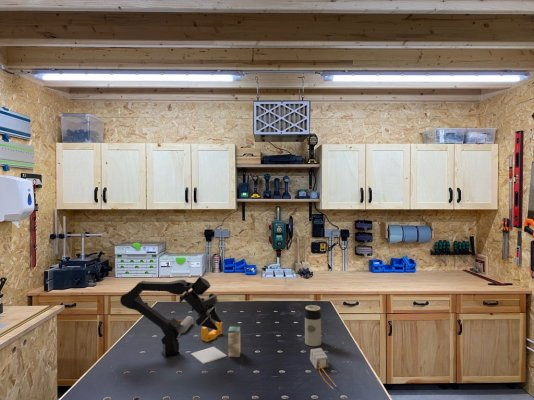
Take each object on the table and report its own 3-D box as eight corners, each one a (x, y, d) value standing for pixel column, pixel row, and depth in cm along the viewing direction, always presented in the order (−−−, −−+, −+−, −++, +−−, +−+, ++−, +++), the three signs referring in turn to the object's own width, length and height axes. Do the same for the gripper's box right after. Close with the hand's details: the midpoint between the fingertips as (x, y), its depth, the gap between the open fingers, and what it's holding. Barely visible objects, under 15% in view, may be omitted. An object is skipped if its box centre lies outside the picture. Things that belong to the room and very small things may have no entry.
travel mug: (309, 338, 177) (309, 304, 177) (323, 342, 173) (323, 306, 173) (302, 344, 171) (301, 308, 171) (316, 348, 166) (316, 311, 166)
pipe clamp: (206, 342, 175) (206, 329, 175) (201, 340, 177) (201, 327, 177) (224, 334, 184) (223, 322, 184) (218, 332, 187) (218, 321, 187)
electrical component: (346, 395, 133) (347, 383, 132) (331, 397, 131) (332, 386, 130) (320, 356, 155) (320, 346, 154) (307, 358, 154) (308, 347, 153)
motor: (196, 321, 203) (194, 313, 203) (183, 336, 181) (182, 327, 181) (158, 327, 205) (156, 318, 205) (141, 343, 183) (140, 333, 183)
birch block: (228, 356, 158) (228, 330, 158) (229, 351, 163) (229, 326, 163) (239, 356, 158) (239, 330, 158) (240, 352, 163) (240, 326, 163)
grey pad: (203, 364, 151) (203, 363, 151) (190, 354, 160) (190, 353, 160) (226, 356, 158) (226, 355, 158) (213, 347, 168) (213, 346, 168)
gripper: (203, 295, 151) (228, 320, 151) (211, 284, 170) (233, 307, 170) (185, 313, 152) (210, 338, 151) (195, 300, 170) (217, 323, 170)
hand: (218, 325), depth 161 cm, fingers open, 9 cm apart
